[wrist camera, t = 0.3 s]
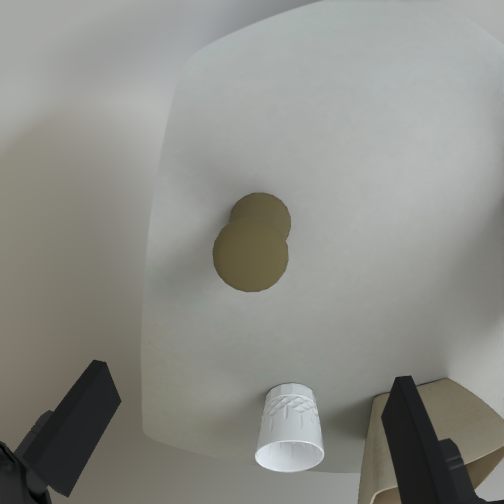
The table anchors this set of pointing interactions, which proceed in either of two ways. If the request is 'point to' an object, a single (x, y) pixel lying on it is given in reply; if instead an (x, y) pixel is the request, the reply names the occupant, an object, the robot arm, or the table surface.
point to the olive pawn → (253, 243)
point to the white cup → (290, 430)
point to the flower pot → (446, 426)
